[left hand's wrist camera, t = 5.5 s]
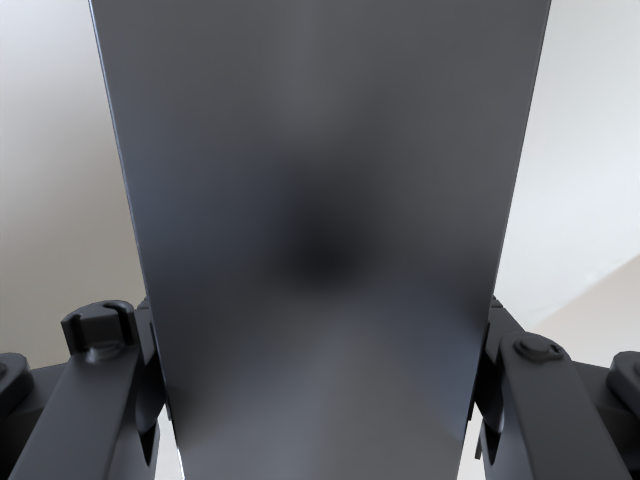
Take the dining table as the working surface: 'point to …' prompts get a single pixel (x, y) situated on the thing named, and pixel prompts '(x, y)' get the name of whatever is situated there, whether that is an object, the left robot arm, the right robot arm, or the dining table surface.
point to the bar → (319, 219)
